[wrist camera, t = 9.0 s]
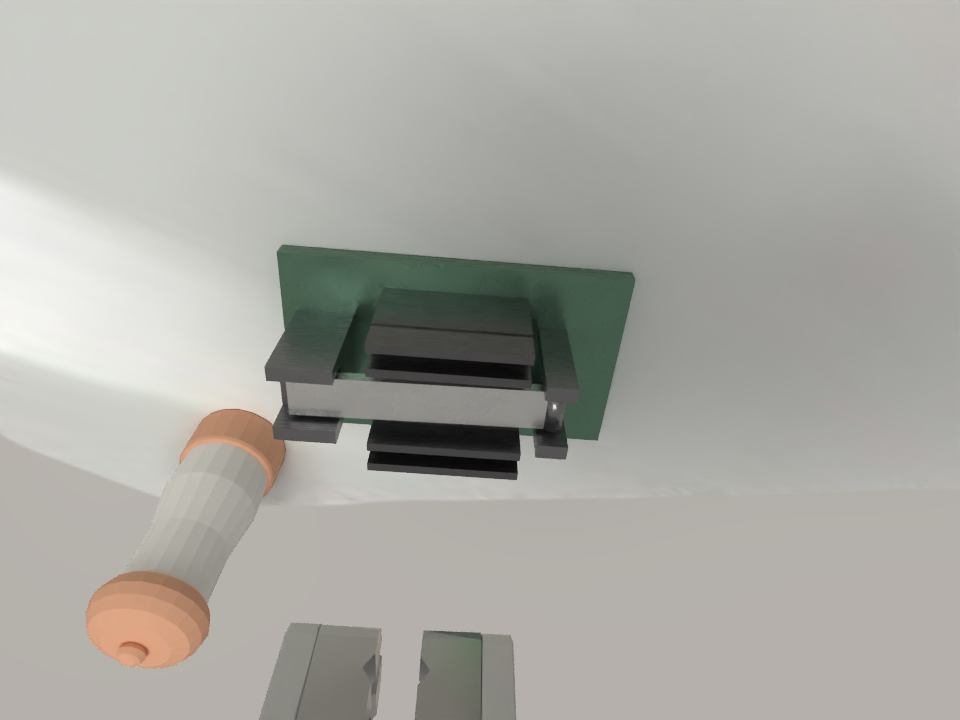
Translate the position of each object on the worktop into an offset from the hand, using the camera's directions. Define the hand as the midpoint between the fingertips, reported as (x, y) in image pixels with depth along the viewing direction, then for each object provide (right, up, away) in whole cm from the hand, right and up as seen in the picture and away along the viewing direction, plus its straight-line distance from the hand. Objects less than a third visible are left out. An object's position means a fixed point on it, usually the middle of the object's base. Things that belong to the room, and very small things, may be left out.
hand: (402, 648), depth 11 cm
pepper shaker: (-19, -2, +41) cm, 45 cm away
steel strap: (-2, +3, +30) cm, 30 cm away
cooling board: (-1, +6, +35) cm, 36 cm away
